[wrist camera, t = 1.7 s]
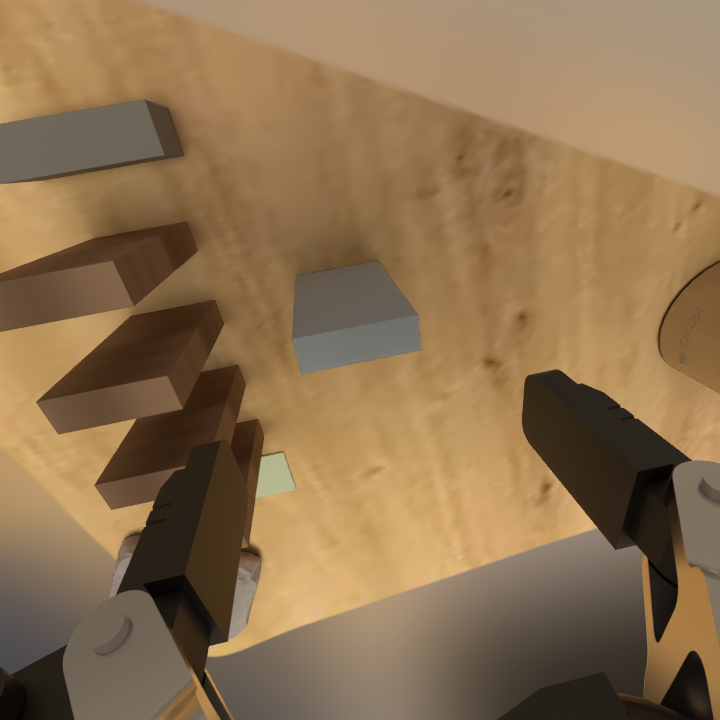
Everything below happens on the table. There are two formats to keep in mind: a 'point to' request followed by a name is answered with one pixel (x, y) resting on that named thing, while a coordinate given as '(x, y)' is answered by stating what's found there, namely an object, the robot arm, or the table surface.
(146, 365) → the domino
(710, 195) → the table surface
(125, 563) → the stone block
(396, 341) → the domino
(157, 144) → the block
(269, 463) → the pad
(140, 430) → the domino
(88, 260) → the domino
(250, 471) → the domino
